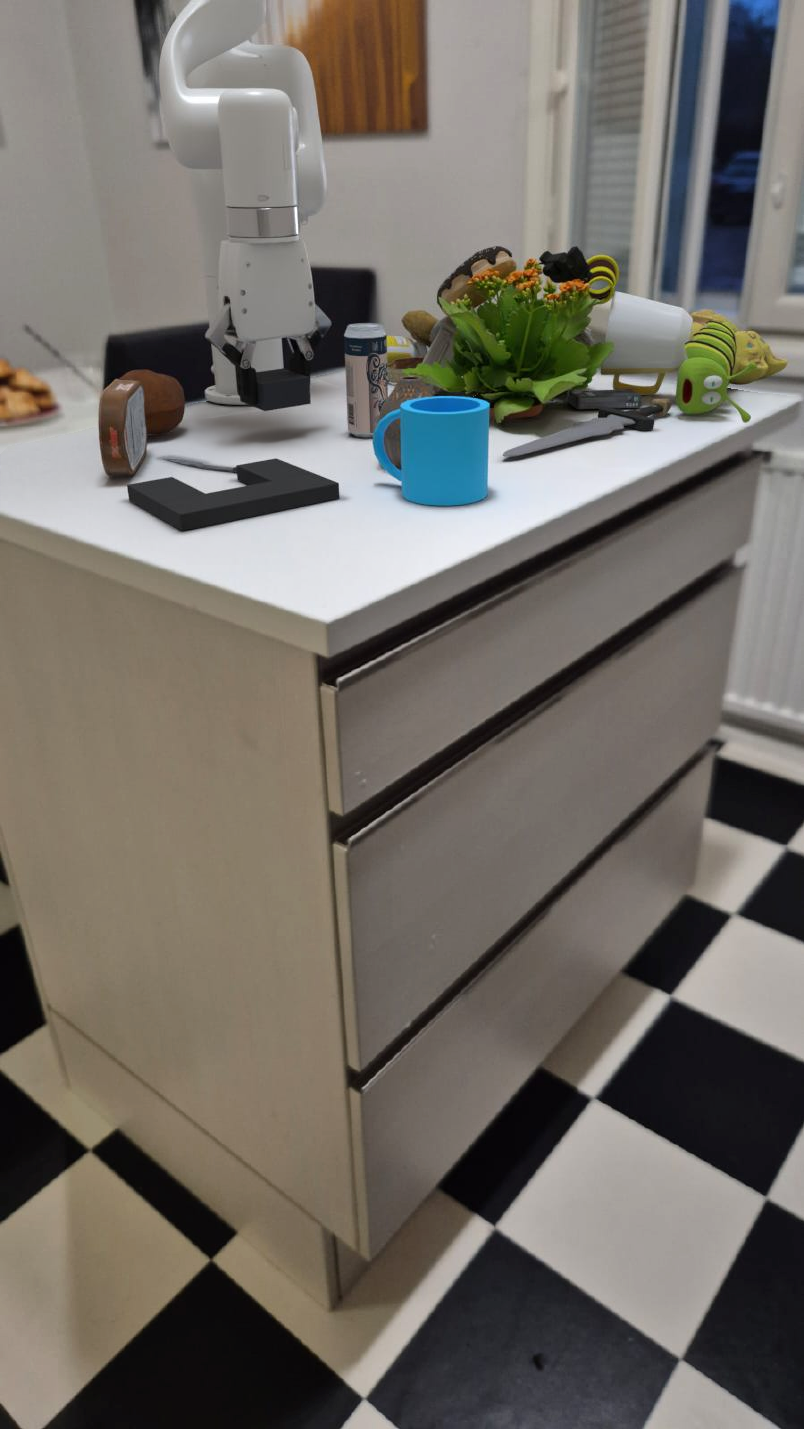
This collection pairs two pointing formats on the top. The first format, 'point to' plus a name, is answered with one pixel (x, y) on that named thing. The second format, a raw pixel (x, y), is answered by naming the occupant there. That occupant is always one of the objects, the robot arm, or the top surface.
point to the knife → (201, 465)
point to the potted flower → (518, 343)
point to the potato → (160, 400)
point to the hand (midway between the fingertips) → (274, 397)
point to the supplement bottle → (404, 348)
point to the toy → (708, 370)
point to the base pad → (234, 495)
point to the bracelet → (402, 367)
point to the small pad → (281, 389)
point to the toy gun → (565, 266)
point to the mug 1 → (439, 449)
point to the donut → (475, 264)
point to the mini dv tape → (604, 399)
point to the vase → (402, 392)
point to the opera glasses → (601, 277)
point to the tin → (122, 427)
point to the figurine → (743, 350)
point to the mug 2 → (644, 339)
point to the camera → (441, 347)
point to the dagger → (598, 426)
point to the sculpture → (419, 325)
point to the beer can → (365, 376)
